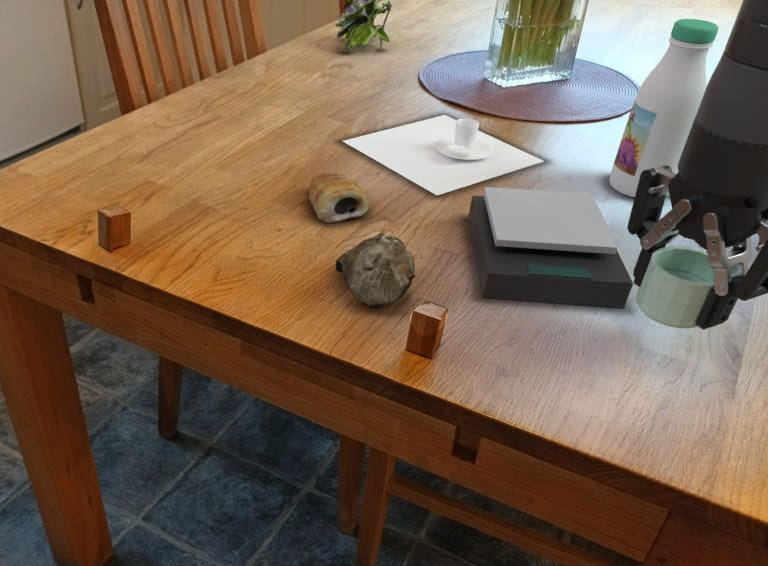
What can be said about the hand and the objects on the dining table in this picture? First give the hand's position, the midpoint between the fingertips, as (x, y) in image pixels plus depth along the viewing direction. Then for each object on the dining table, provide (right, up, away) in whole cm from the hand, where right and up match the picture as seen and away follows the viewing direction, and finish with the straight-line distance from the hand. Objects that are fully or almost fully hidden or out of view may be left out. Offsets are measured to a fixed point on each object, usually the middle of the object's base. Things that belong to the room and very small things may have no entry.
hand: (673, 303), depth 64 cm
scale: (-7, +6, +15) cm, 17 cm away
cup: (0, -1, 0) cm, 1 cm away
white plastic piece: (-13, +24, +37) cm, 46 cm away
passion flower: (-20, +55, +75) cm, 95 cm away
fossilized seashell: (-26, +2, +10) cm, 28 cm away
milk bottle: (+11, +17, +29) cm, 35 cm away
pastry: (-29, +13, +23) cm, 39 cm away
